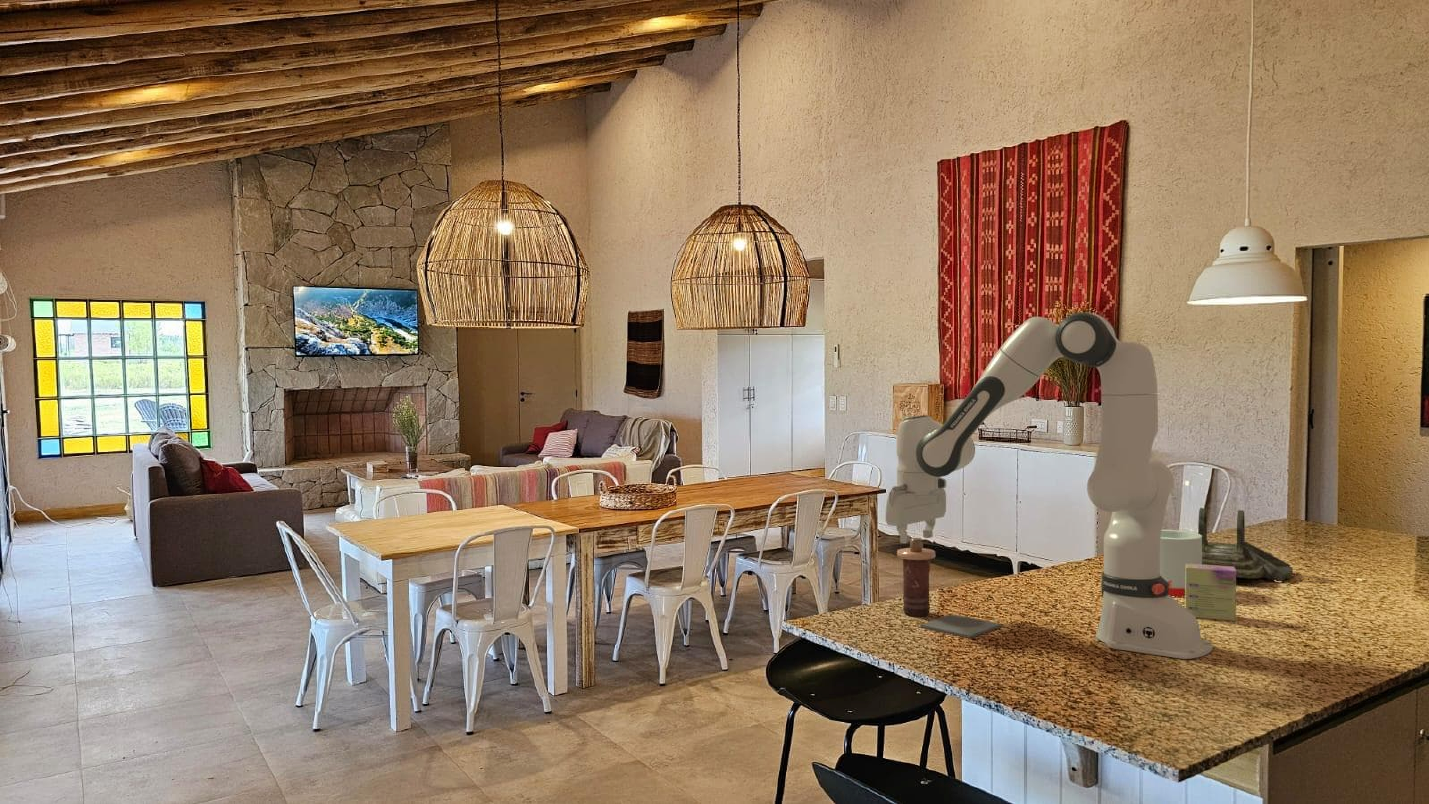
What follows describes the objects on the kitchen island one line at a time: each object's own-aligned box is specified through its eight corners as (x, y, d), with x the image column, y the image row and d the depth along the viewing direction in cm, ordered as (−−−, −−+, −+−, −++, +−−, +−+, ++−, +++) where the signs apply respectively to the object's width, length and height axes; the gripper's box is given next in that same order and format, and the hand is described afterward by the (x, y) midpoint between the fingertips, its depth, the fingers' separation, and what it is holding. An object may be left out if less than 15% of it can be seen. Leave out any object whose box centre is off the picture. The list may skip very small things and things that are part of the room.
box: (1234, 615, 222) (1234, 565, 221) (1236, 621, 216) (1236, 570, 216) (1184, 611, 226) (1184, 562, 226) (1185, 617, 221) (1185, 567, 220)
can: (930, 617, 225) (930, 559, 224) (903, 616, 226) (902, 558, 225) (930, 611, 231) (929, 554, 230) (903, 610, 232) (903, 553, 231)
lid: (942, 555, 228) (942, 538, 228) (921, 561, 221) (921, 543, 221) (911, 551, 234) (910, 534, 234) (889, 556, 228) (889, 539, 228)
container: (1138, 594, 243) (1138, 538, 243) (1135, 581, 258) (1135, 528, 258) (1208, 599, 238) (1208, 541, 237) (1200, 585, 252) (1200, 530, 252)
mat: (1001, 626, 216) (1001, 624, 216) (970, 638, 207) (970, 635, 207) (952, 616, 225) (952, 614, 225) (920, 627, 216) (920, 624, 216)
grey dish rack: (1168, 556, 292) (1168, 498, 292) (1296, 567, 273) (1296, 505, 272) (1145, 577, 264) (1145, 513, 263) (1286, 592, 244) (1286, 522, 244)
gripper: (900, 488, 218) (901, 547, 218) (950, 480, 232) (951, 536, 232) (878, 486, 222) (879, 544, 223) (928, 478, 236) (929, 533, 237)
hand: (916, 540), depth 228 cm, fingers open, 8 cm apart
